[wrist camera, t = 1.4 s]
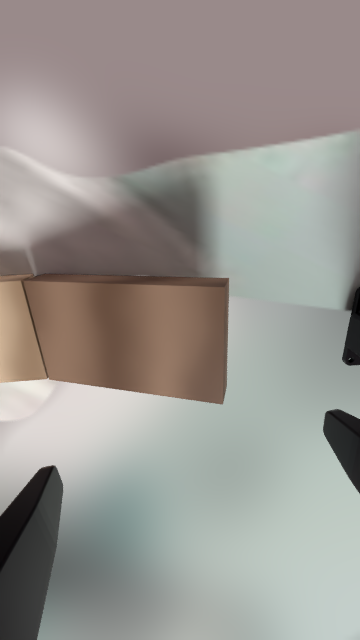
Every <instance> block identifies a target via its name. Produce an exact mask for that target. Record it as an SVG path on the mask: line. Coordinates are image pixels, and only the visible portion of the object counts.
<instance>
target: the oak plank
mask: <svg viewBox="0 0 360 640" xmlns="http://www.w3.org/2000/svg"><path fill="white" fill-rule="evenodd" d="M33 277H34V276H33V274H24V275H8V276H0V383H2V382H15V381H28V380H40V379H47V378H48V377H49V376H48V373H47V369H46V365H45V361H44V358H43V354H42V350H41V346H40V342H39V339H38V335H37V331H36V327H35V324H34V320H33V316H32V312H31V308H30V305H29V301H28V297H27V293H26V290H25V286H24V282H23V281H24V280H27V279H30V278H33Z"/></svg>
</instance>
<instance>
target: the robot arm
mask: <svg viewBox="0 0 360 640" xmlns="http://www.w3.org/2000/svg"><path fill="white" fill-rule="evenodd" d="M349 358H351V359H350V360H349ZM342 360H343V362H344V363H345V364H347V365H350V366H351V365H360V287H359V288H358V289H357V291H356V293H355V298H354V303H353V308H352V313H351V317H350V322H349V327H348V331H347V337H346V341H345V347H344V353H343V357H342ZM323 432H324V435H325V437H326V439H327V441H328V442H329V444H330V446H331V448H332V449H333V451H334V453H335V454H336V456H337V458H338V460H339V462H340V463H341V465H342V467H343V469H344V470H345V472H346V474H347V475H348V477H349V479H350V480H351V482H352V483H353V485H354V486H355V488H356V489H357V490H358V492H359V493H360V419H358V418H356V417H354V416H352V415H350V414H348V413H346V412H344V411H342V410H339V409H335V410H330V411H327V412H326V413H325V419H324V426H323ZM62 496H63V483H62V480H61V478H60V475H59V473H58V470H57V468H56V466H53V465H52V466H47V467H43V468H41V469H39V470H38V472H37V473H36V474H35V475H34V477H33V478H32V479H31V480H30V481H29V482H28V484H27V485H26V486H25V487H24V488H23V490H22V491H21V492H20V493H19V494H18V496H17V497H16V498H15V499H14V501H13V502H12V503H11V504H10V505H9V506H8V508H7V509H6V510H5V511H4V512H3V514H2V515H1V516H0V640H37V636H38V632H39V627H40V623H41V618H42V613H43V609H44V604H45V599H46V595H47V590H48V585H49V580H50V576H51V571H52V567H53V562H54V557H55V552H56V547H57V539H58V530H59V521H60V512H61V504H62Z"/></svg>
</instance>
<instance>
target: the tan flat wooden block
mask: <svg viewBox="0 0 360 640" xmlns="http://www.w3.org/2000/svg"><path fill="white" fill-rule="evenodd" d="M23 282H24V286H25V290H26V293H27V297H28V301H29V305H30V308H31V312H32V316H33V320H34V324H35V327H36V331H37V335H38V339H39V342H40V346H41V350H42V354H43V358H44V361H45V365H46V369H47V373H48V376H49V380H56V381H63V382H71V383H77V384H84V385H91V386H99V387H106V388H112V389H119V390H126V391H134V392H140V393H147V394H154V395H161V396H168V397H175V398H182V399H189V400H196V401H203V402H209V403H216V404H223V401H224V396H225V391H226V386H227V345H228V344H227V343H228V303H229V302H228V301H229V278H198V277H155V276H112V275H69V274H43V275H40V276H36V277H33V278H30V279H27V280H24V281H23Z"/></svg>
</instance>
